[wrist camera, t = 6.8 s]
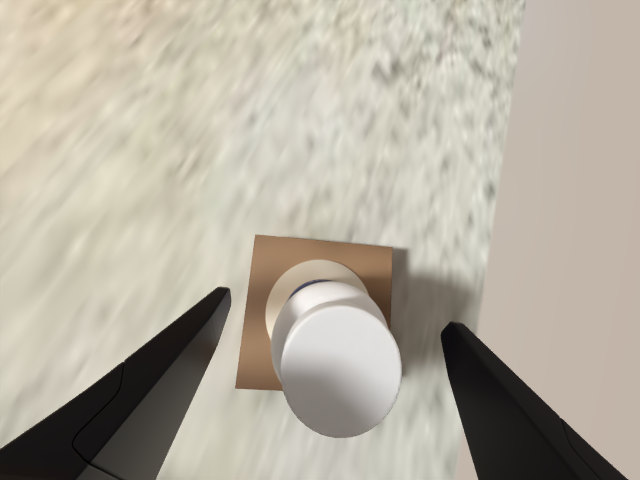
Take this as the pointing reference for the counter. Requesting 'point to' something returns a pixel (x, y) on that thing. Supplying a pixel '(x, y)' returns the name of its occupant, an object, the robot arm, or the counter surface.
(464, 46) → the counter surface
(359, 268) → the walnut base
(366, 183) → the counter surface
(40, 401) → the counter surface
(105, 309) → the counter surface
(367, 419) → the pill bottle
